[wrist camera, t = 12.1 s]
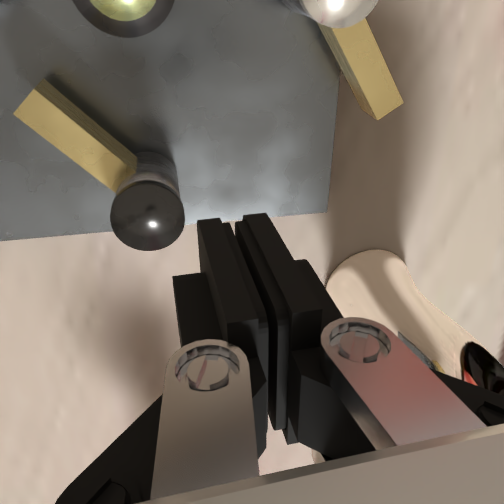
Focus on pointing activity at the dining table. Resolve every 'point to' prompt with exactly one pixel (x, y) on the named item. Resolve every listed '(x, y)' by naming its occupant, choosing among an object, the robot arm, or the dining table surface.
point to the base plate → (169, 106)
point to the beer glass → (411, 317)
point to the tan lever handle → (112, 169)
